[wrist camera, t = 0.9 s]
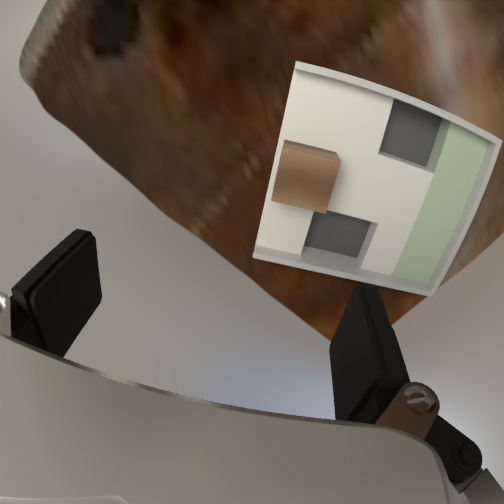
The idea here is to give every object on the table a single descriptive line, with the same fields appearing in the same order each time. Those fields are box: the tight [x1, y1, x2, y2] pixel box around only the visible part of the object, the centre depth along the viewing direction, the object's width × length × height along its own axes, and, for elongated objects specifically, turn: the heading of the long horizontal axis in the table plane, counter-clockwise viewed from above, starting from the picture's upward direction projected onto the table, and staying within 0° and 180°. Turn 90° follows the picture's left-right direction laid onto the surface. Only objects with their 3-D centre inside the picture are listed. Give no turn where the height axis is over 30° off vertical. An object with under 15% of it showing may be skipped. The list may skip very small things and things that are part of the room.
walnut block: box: [271, 139, 341, 214], centre depth 29 cm, size 5×5×4 cm
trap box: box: [253, 61, 502, 297], centre depth 30 cm, size 20×22×4 cm
